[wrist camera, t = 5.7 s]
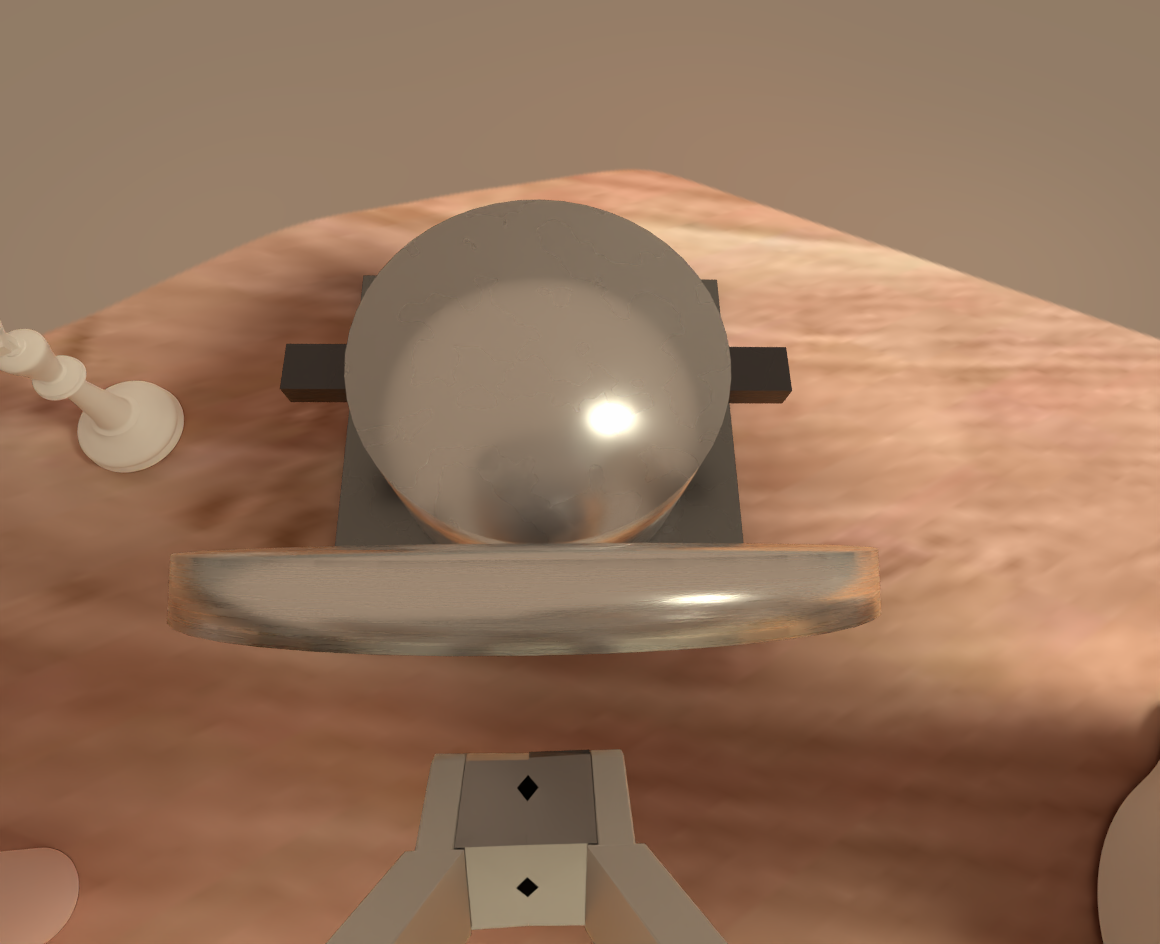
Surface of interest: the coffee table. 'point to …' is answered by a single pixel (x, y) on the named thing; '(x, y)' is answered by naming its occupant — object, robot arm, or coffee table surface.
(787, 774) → the coffee table surface
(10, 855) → the smoothie
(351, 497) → the steel pot
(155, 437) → the chess piece
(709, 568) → the pot lid
